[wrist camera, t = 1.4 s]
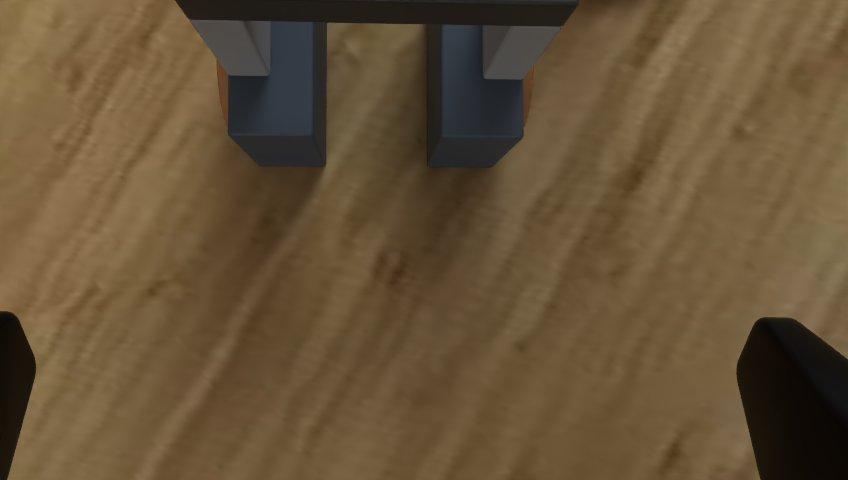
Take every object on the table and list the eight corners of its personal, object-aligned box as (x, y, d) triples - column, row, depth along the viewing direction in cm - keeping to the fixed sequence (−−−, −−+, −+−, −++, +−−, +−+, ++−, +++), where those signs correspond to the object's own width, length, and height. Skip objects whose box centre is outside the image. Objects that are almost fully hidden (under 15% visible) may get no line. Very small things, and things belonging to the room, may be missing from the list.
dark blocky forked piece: (506, 168, 23) (603, 85, 13) (244, 166, 22) (144, 78, 13) (504, 12, 23) (599, -183, 13) (245, 6, 23) (149, -200, 13)
